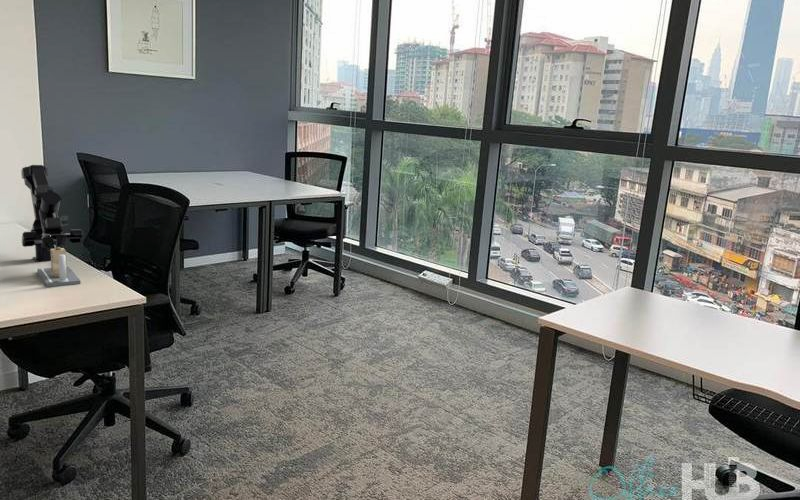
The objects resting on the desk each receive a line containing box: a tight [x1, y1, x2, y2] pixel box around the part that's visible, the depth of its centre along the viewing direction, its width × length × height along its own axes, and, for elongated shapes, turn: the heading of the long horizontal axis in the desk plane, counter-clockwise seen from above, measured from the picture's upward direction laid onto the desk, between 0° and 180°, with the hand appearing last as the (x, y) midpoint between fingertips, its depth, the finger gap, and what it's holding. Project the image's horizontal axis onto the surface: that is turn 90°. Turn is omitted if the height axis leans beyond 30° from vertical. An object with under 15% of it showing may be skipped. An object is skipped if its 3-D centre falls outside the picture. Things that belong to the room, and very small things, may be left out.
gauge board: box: [36, 254, 81, 288], centre depth 211 cm, size 20×10×10 cm, turn 38°
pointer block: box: [50, 246, 68, 277], centre depth 210 cm, size 4×4×10 cm
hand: (57, 257), depth 211 cm, fingers closed
